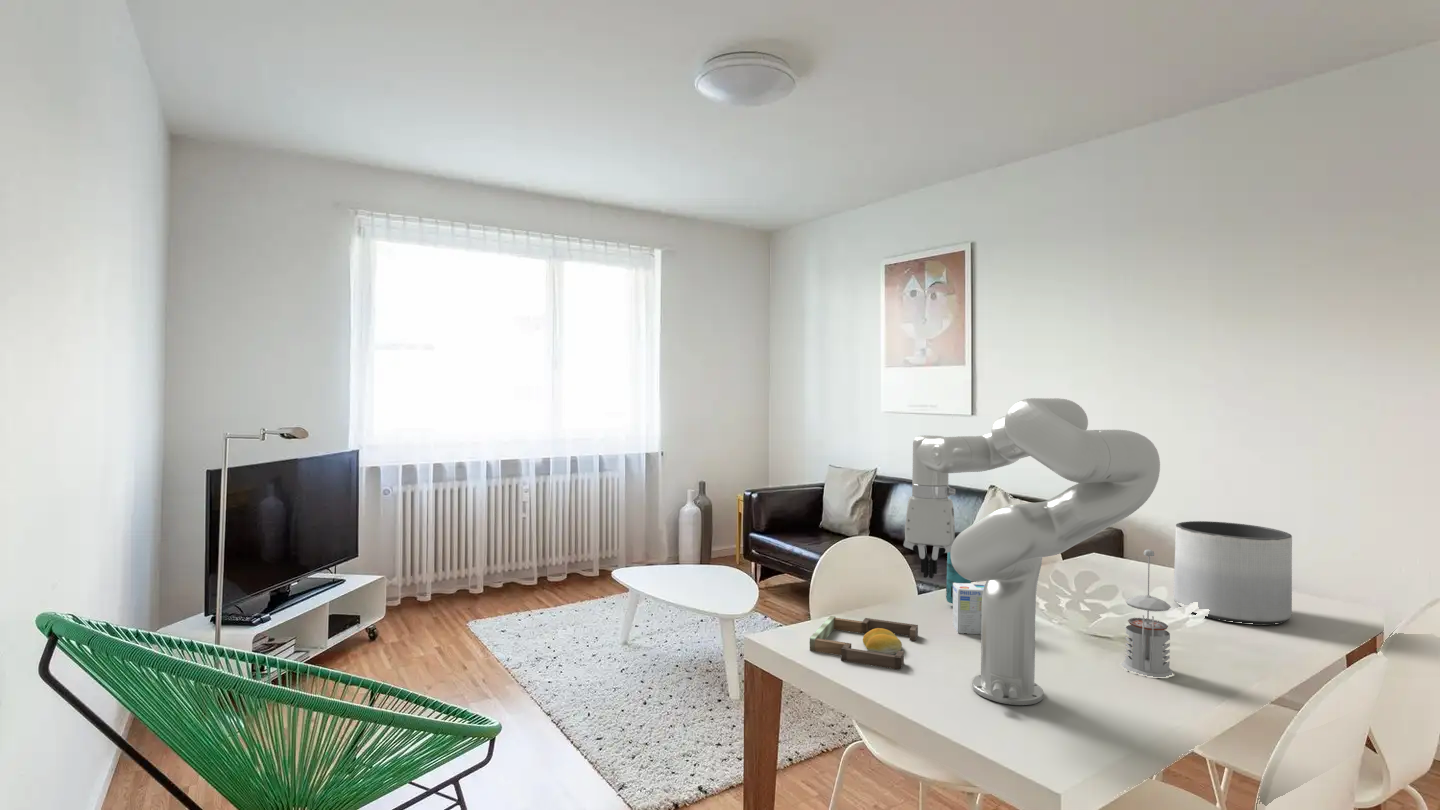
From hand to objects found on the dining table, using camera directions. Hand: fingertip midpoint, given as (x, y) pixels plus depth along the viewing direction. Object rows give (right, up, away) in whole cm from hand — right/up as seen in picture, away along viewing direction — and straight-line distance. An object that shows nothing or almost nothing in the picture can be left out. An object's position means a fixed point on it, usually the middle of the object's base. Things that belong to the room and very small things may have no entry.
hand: (928, 576), depth 155 cm
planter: (+90, -18, +34) cm, 97 cm away
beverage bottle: (+18, -17, +36) cm, 44 cm away
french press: (+43, -18, -8) cm, 47 cm away
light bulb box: (+17, -17, +17) cm, 29 cm away
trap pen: (-13, -17, +6) cm, 22 cm away
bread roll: (-9, -17, +4) cm, 20 cm away
